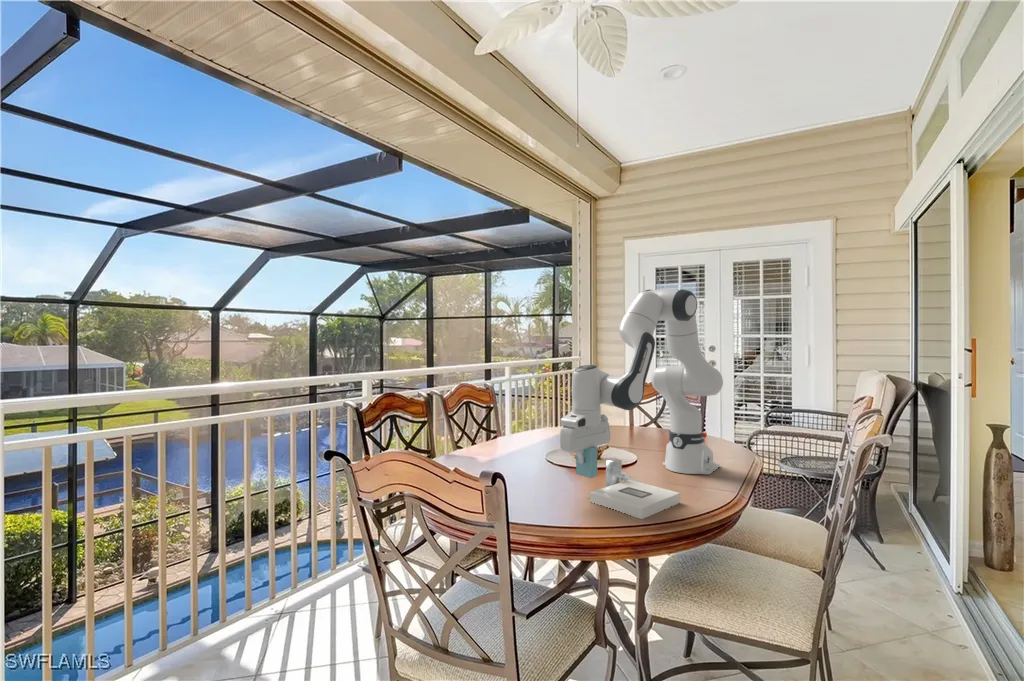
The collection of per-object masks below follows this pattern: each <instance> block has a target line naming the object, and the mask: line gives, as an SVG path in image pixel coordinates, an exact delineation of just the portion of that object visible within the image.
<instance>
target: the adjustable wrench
mask: <svg viewBox="0 0 1024 681" xmlns="http://www.w3.org/2000/svg"><path fill="white" fill-rule="evenodd" d="M623 480H624V481H627V480H633V481H636V482H640V483H642V482H641V481H639V480H637V479H635V478H633V477H630V476H629V475H628V473H627V472H626V471H624V470H622V481H623ZM624 481H623V482H624Z"/></svg>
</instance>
